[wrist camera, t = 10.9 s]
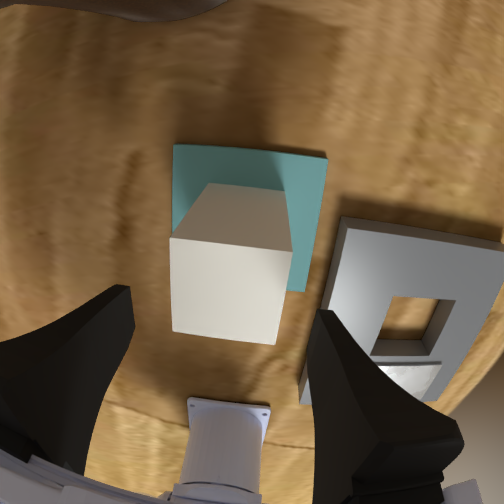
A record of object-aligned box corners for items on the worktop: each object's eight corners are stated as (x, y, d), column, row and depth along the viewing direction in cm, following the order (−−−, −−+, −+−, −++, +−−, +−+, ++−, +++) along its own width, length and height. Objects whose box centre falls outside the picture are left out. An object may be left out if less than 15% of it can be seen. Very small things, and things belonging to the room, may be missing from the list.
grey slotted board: (431, 386, 27) (437, 402, 25) (298, 386, 27) (299, 406, 25) (500, 242, 20) (516, 255, 18) (341, 216, 20) (348, 230, 18)
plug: (274, 259, 21) (274, 344, 14) (205, 250, 21) (172, 331, 14) (285, 191, 19) (292, 252, 12) (208, 182, 19) (169, 237, 12)
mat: (303, 288, 22) (304, 292, 22) (175, 273, 22) (173, 277, 22) (326, 157, 18) (328, 159, 18) (175, 143, 18) (173, 144, 18)
